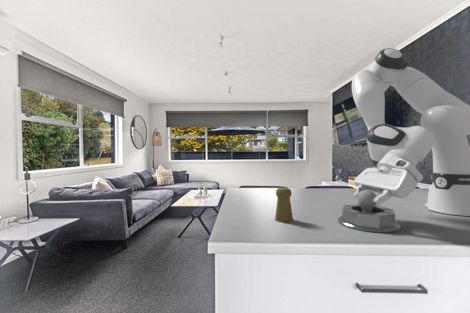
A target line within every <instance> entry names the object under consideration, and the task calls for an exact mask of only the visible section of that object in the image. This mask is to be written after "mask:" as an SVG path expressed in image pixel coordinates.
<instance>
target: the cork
mask: <svg viewBox="0 0 470 313" xmlns="http://www.w3.org/2000/svg"><path fill="white" fill-rule="evenodd" d="M275 195H276V197H277V200H276V209H275V216H274V217H275V218H274V220H276V221H275V222H277V221H278V222H279V223H282V222H283V224H286V223H292V222H293V221H294V218H293V212H292V210H293V209H292V204H291V203H292V202H291V196H292V190H291V189H290V188H289V187H278V188H277V189H276V191H275Z"/></svg>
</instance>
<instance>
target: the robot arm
mask: <svg viewBox="0 0 470 313" xmlns="http://www.w3.org/2000/svg"><path fill="white" fill-rule="evenodd" d="M390 86H391V87H393V88H394V89H395V91H396V92H397V93H398V95H400V96H401V97H402V99H403V100H404V101H405V102H406V103H407V104H409V106H411V107H412V109H414V111H416V112H417V113H419V114H421V117H420V122H419V124H420V125H413V126H409V127H399V126H395V125H391V124H388V123H386V121H385V114H386V113H385V111H386V110H385V106H386V103H385V102H386V98H385V96H386V95H385V94H386V92H387V90H388V88H390ZM351 93H352V98H353V101H354V104H355V106H356V108H357V110H358V112H359V113H360V115H361V117H362V119H363V121H364V124H365V126H366V128H367V132H366V137H365V138H366V144H367V148H368V154H369V160H370V163H371V164H372V165H373V166H372V167H367V168H365V169H363V171H361V173H359V174H358V175H357V176H356V177H355V178H354V180H353V184H354V185H355V186H356V190H355V192H354V193H353V197H354V198H355V199H357V196H358V194H359V193H360V192H361V191H364V190H369V191H372V192H373V193H378V194H380V195H378V196H376V197H375V198H374V199H373V202H374V203H375V204H376V205H377V206H382V204H383V203H384V202H386V201H388V200H390V199H391V198H393V197H394V198H400V199H404V198H406V197H408V196H410V194H411V193H413V191H414V190H415V189H416V187H417V186H418V184H419V183H420V182H422V180H423V179H424V176H423V174H421V172H420V171H419V170H418V169H417V167H416V166H417V165H418V164H419V163H421V162H422V161H424V159H425V158H426V157H427V155H429V152H432V172H431V177H430V179H431V182H432V184H431V185H430V186H429V187H428V193H427V195H428V196H427V202H425V203H424V206H425V207H427V210H430V211H433V212H436V213H441V214H445V215H447V214H448V215H454V216H465V217H470V144H469V141H468V138H467V136H469V135H470V105H469V104H467V103H465V101H463V100H461V99H460V98H459V97H457V96H455V95H453V94H451V93H450V92H448V91H447V90H445V89H444V88H442V87H441V86H440V85H439V84H437V83H436V82H435V81H434V80H433V79H431V77H429V76H428V75H426V74H425V73H423V72H422V71H421V70H418V69H416V68H414V67H411V66H408V61H407V60H406V57H405V55H404V54H403V52H402V51H400V50H399V49H396V48H392V47H391V48H389V47H388V48H384V49H381V50H380V51H379V52H378V53H377V54H376V56H375V57H374V60H373V62H372V63H371V65H370V66H369V68H368V69H362V70H360V71H358V72H357V73H355V75H354V76H353V77H352V81H351Z"/></svg>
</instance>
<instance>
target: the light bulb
mask: <svg viewBox="0 0 470 313" xmlns="http://www.w3.org/2000/svg"><path fill="white" fill-rule="evenodd" d="M375 197H377V195H376V193H375V192H373V191H369V190H364V191H361V192H360V193H359V194H358V196H357V198H356V199H357V202H358V203H357V204H360V206H361V208H362V209H363V212H368V213H371V210H372V209H373V207H374V206H375V205H377V204H375V203H374V202H373V199H374V198H375Z"/></svg>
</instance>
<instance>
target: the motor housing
mask: <svg viewBox="0 0 470 313" xmlns="http://www.w3.org/2000/svg"><path fill="white" fill-rule="evenodd" d="M341 213H342V214H341V215H340V216H339V217H338V219H337V220H338V223H339V224H340V225H342V226H344V227H346V228H348V229H352V230H356V231H360V232H361V231H362V232H368V233H375V234H376V233H378V234H380V233H381V234H385V233H386V234H389V233H395V232H399V231H400V230H401V225H400V223H398V222H396V213H395V211H394V209H393V208H390V207H389V208H388V207H384V206H382V205H377V204H376V205H375V206H374V207H373V209H372V210H371V213H368V212H363V209H362V208H361V206H360V204H359V203H354V204H353V203H351V204H344V205H343V207H342V212H341Z"/></svg>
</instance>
